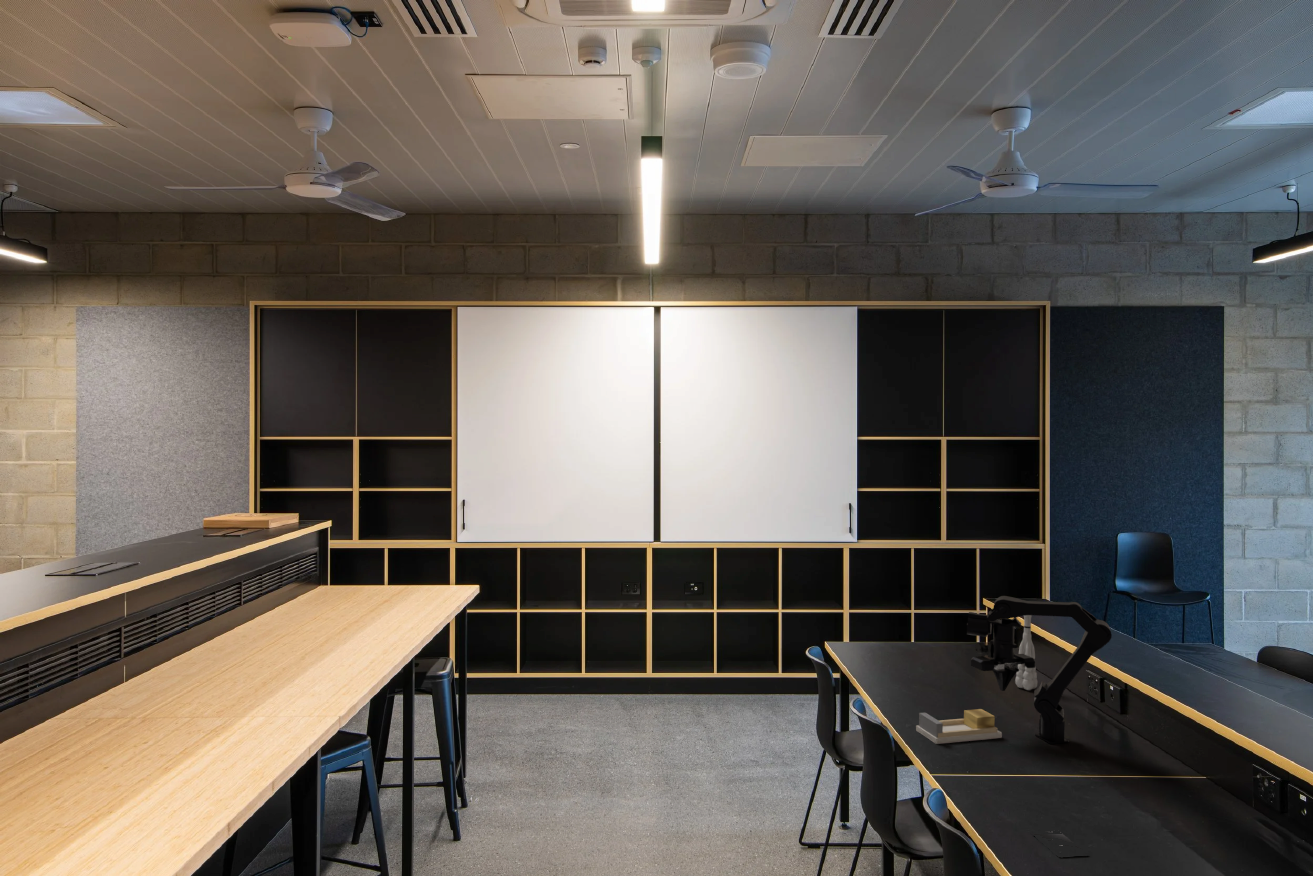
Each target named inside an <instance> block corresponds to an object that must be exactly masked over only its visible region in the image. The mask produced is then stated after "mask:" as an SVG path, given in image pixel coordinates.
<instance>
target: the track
mask: <svg viewBox="0 0 1313 876" xmlns="http://www.w3.org/2000/svg"><path fill="white" fill-rule="evenodd" d="M918 715H919V716H918V717H919V718H918V725H915V730H916V732H917V733H919V734H921V735H922V736H924V737H925V738H926V739H929V741H931V742H933V743H934V745H939V744H950V743H961V742H969V741H970V742H972V741H981V740H982V741H984V740H992V739H1002V738H1003V737H1002V736H1003V732H1002V731H1000V730H998V727H996V726H994V727H989V728H978V729H972V728H970V727H969V726H967V725H965V724H964V718H955V719H944V720H943V719H942V720H938V719H936V718H935V717H933V716H932V715H930V714H928V713H927V712H918Z"/></svg>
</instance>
